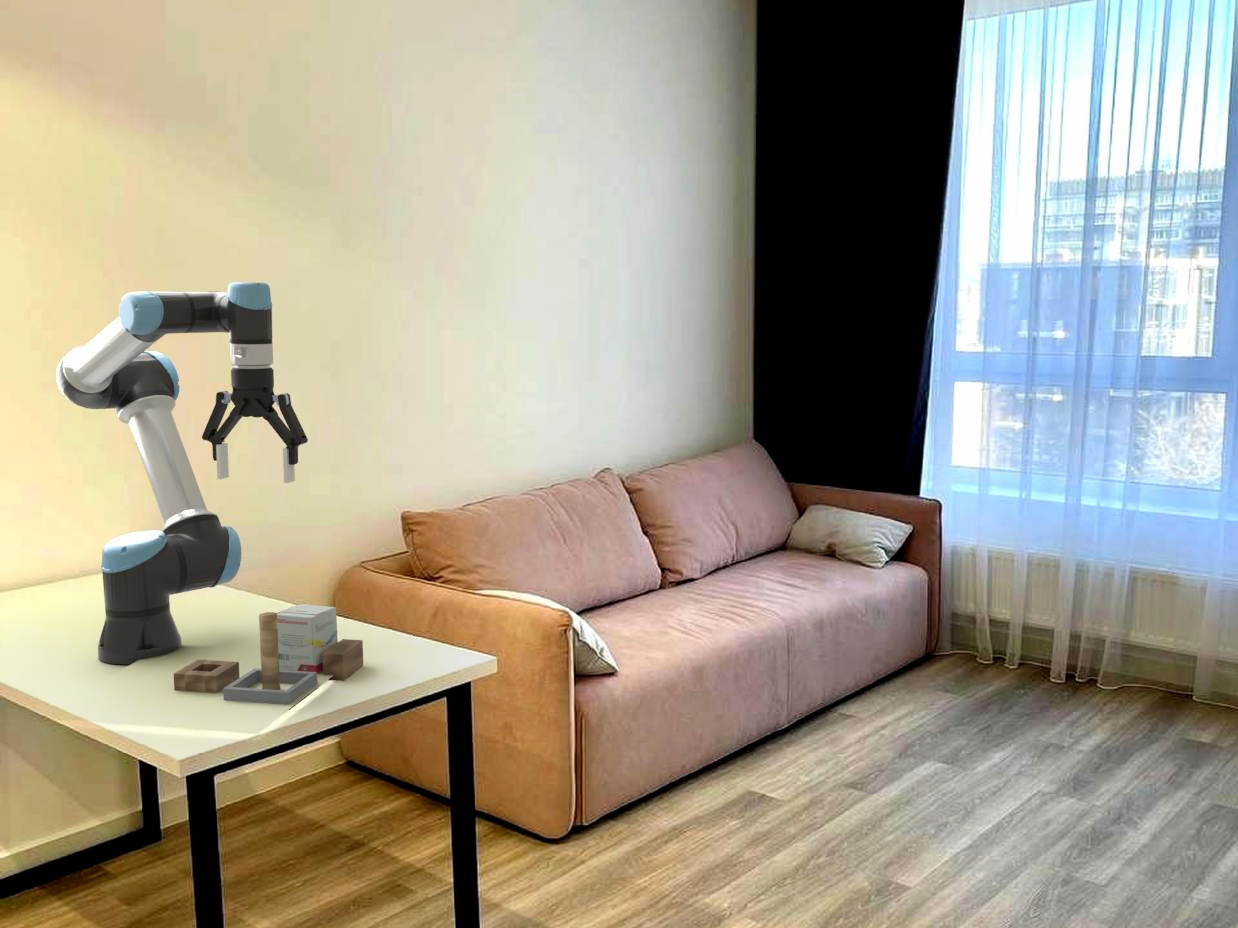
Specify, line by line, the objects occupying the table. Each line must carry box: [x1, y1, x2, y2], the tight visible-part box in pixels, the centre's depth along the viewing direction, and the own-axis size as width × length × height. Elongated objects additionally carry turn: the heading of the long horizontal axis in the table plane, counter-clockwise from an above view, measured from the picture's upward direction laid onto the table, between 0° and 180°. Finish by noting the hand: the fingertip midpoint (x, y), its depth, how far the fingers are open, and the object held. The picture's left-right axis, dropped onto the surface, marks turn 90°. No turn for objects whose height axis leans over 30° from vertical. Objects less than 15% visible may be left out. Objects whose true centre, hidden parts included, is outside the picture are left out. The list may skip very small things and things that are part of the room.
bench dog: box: [322, 638, 364, 682], centre depth 214 cm, size 4×9×5 cm, turn 170°
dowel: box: [258, 611, 281, 690], centre depth 200 cm, size 3×3×14 cm
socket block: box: [173, 659, 241, 694], centre depth 205 cm, size 8×8×4 cm
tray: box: [222, 667, 318, 711], centre depth 201 cm, size 12×11×3 cm
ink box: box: [276, 603, 339, 674], centre depth 214 cm, size 9×9×12 cm
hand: (256, 480), depth 216 cm, fingers open, 13 cm apart
